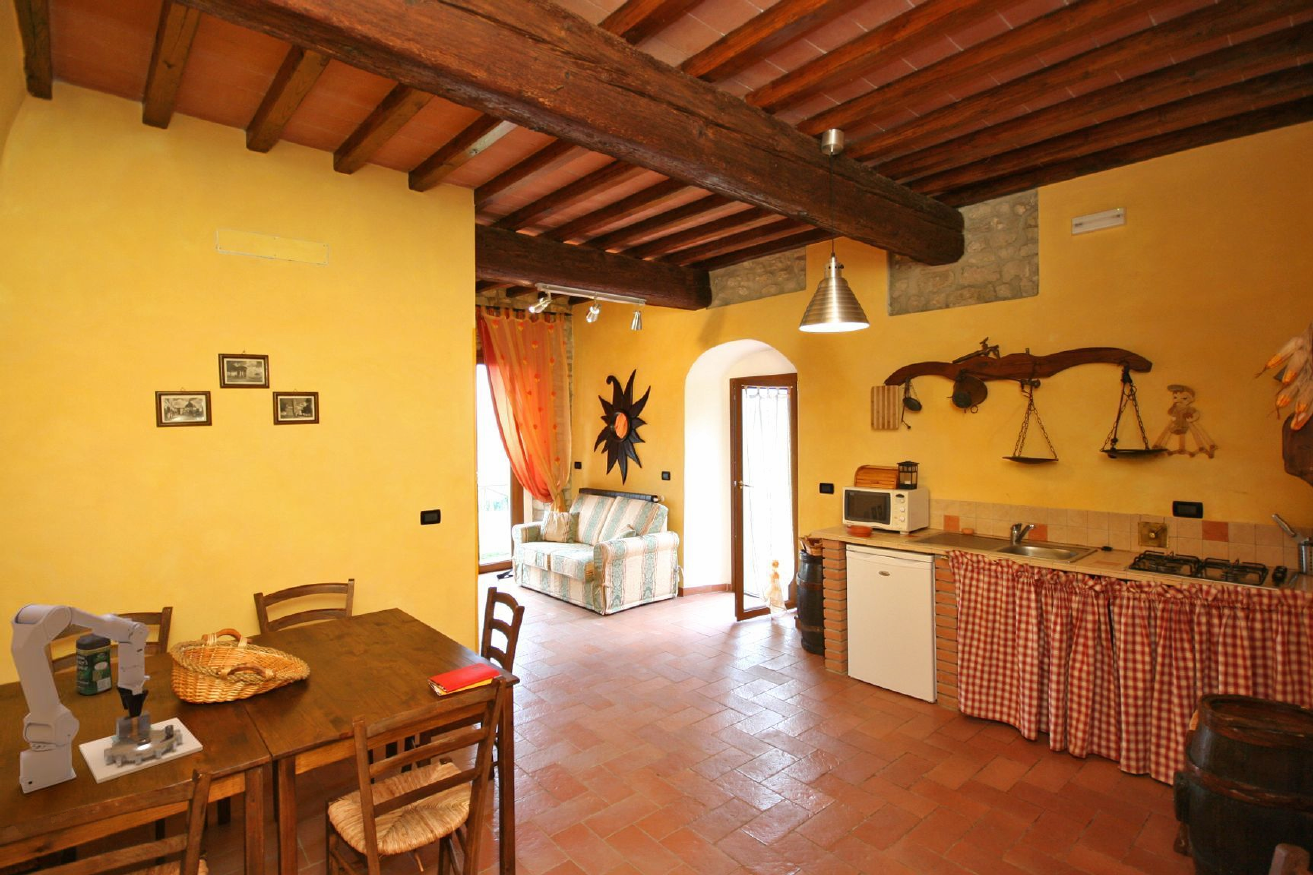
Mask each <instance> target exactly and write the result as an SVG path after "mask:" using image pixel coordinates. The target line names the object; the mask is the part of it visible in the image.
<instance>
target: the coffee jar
mask: <svg viewBox="0 0 1313 875" xmlns="http://www.w3.org/2000/svg"><path fill="white" fill-rule="evenodd" d="M111 649H112V639H109V638H105V637H102V636H98V635H95V634H94V633H93V632H92V633H87V634H83V635H80V636H79V637H78V638H77V639H76V641H75V654H76V655H75V656H76V691H77V692H78V693H80V694H83V695H87V696H89V695H94V694H101V693H104V692H106V691H107V690H109V689H112V687H113V679H112V665H111V664H112V662H111Z"/></svg>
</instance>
